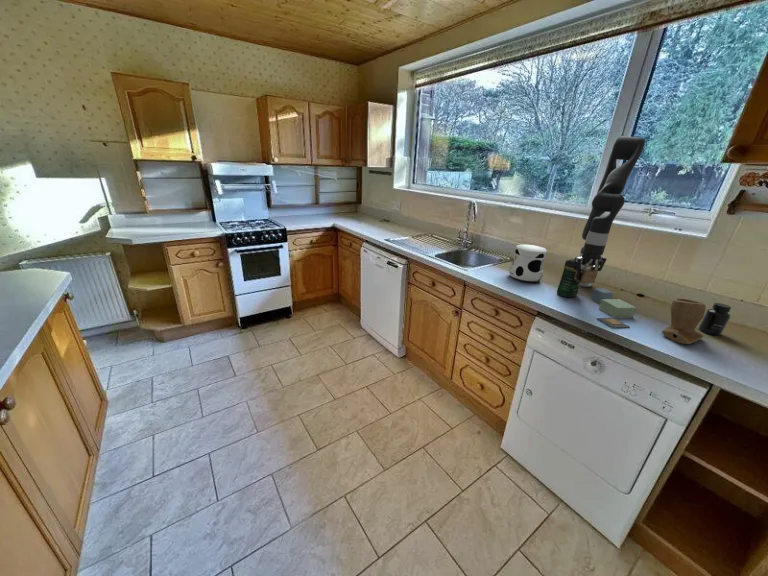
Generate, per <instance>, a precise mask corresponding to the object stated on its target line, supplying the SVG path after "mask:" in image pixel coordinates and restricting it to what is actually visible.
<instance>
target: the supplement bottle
mask: <svg viewBox="0 0 768 576" xmlns="http://www.w3.org/2000/svg"><path fill="white" fill-rule="evenodd" d="M731 309H732V307H731V306H730V305H728V304H725V303H721V302H714V303H713V305H712V308H708V309H707V310H705V313H704V316H703V318H702V319H701V321H700V322H699V324H698V325H699V326H698V330H699V331H700V332H701V333H702V332H703V333H704V334H707V335H710V336H715V337H718V336H721V335H722V333H723V332H724V330H725V328H726V326H727V324H728V323H729V321H730V319H731V314H730V311H731Z"/></svg>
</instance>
